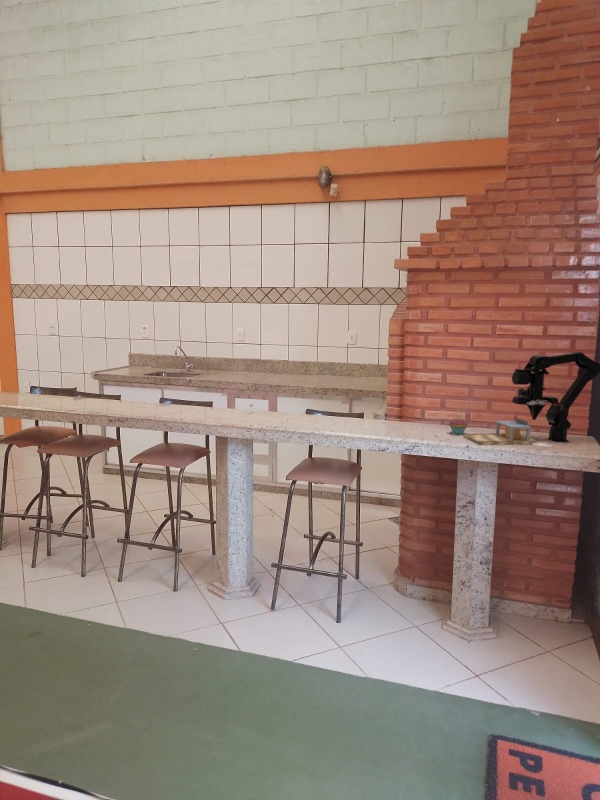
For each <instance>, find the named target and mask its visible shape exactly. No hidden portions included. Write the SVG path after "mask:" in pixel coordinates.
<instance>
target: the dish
mask: <svg viewBox="0 0 600 800" xmlns="http://www.w3.org/2000/svg"><path fill="white" fill-rule="evenodd" d="M538 441H539V440H538ZM530 446H534V447H538V448H553V447H554V446H555V444H554V443H552V442H547V441H539V443H531V445H530Z"/></svg>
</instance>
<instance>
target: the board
mask: <svg viewBox="0 0 600 800" xmlns="http://www.w3.org/2000/svg"><path fill="white" fill-rule="evenodd" d="M521 433H522V432H520V439H513V440H509V439H507V438H505V432H504V433H499V435H496V433H463V434H462V435H463V436H462V437H463V438H465V439H466V440H468V441H470V442H472V443H474V444H476V445H478V446H523V445H525V446H528V445H529V446H532V445H531V443H539V440H537V439H533V438H531V437H530V440H526V435H523V434H521Z"/></svg>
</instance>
